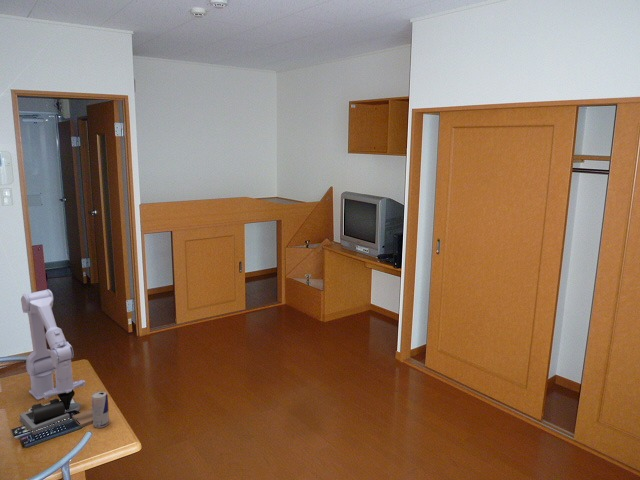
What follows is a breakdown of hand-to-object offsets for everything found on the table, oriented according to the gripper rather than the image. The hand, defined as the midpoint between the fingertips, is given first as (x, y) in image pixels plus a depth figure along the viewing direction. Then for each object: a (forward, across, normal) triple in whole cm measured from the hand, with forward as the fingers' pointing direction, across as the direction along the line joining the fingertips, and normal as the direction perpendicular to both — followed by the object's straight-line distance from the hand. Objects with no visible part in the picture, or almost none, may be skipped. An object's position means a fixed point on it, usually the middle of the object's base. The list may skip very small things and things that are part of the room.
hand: (66, 409), depth 189 cm
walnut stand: (+1, +4, -10) cm, 11 cm away
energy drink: (+2, +6, -17) cm, 18 cm away
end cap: (+2, -7, -1) cm, 7 cm away
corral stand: (+1, -8, 0) cm, 8 cm away
